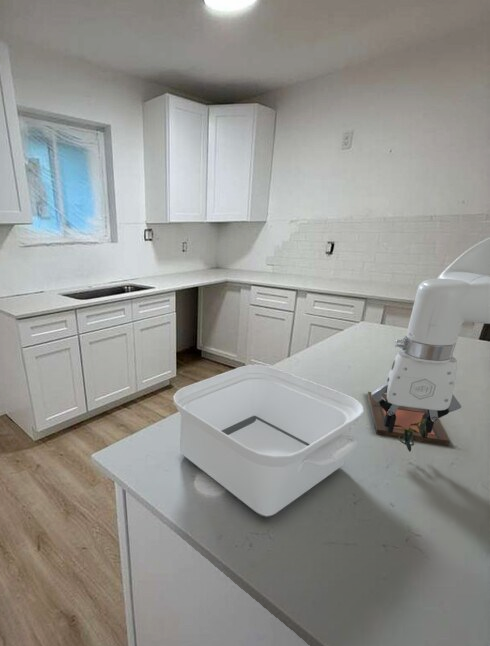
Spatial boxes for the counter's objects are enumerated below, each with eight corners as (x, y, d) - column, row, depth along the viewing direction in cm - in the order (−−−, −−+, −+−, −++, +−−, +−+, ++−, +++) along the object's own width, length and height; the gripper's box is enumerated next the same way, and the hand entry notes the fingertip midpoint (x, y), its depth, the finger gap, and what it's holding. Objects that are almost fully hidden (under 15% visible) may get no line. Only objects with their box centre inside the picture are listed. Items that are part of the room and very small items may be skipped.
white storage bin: (156, 449, 81) (153, 390, 75) (244, 409, 96) (248, 357, 90) (282, 554, 55) (293, 477, 49) (376, 477, 70) (393, 411, 64)
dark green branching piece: (422, 456, 69) (432, 428, 67) (386, 445, 73) (394, 418, 70) (424, 436, 75) (433, 409, 73) (390, 427, 79) (397, 401, 76)
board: (426, 403, 96) (427, 398, 95) (448, 445, 79) (450, 440, 78) (367, 395, 101) (367, 391, 100) (376, 433, 84) (377, 428, 83)
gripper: (377, 351, 66) (360, 434, 73) (494, 360, 60) (462, 450, 67) (372, 338, 72) (357, 416, 80) (477, 345, 66) (450, 429, 74)
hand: (405, 431), depth 73 cm, fingers closed on dark green branching piece, 5 cm apart
